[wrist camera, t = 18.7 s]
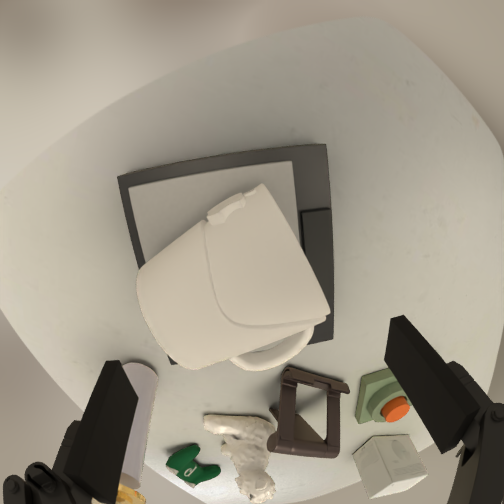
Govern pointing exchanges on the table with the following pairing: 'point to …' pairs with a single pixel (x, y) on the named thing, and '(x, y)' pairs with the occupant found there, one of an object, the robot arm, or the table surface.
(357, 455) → the cosmetics box
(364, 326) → the table surface
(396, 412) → the button
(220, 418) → the white creature statuette
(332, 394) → the tablet stand
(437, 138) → the table surface
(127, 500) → the perfume bottle
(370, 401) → the green button base
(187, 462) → the gaming controller
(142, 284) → the mug
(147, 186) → the scale
